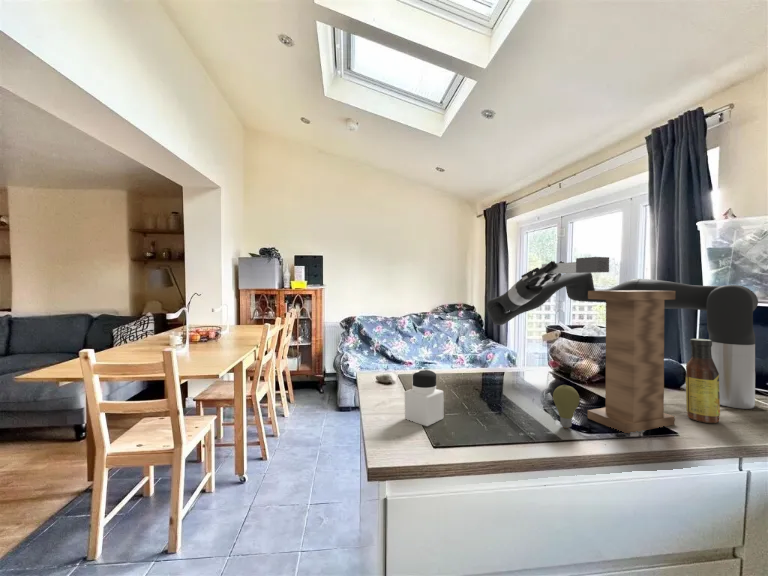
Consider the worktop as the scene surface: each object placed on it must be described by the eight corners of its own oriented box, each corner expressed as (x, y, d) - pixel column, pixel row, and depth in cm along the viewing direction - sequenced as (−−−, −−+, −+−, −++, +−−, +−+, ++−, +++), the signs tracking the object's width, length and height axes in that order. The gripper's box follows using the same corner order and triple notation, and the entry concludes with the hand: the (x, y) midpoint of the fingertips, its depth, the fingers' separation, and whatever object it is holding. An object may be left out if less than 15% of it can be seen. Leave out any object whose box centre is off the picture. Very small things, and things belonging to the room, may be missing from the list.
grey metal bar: (551, 273, 115) (551, 261, 115) (608, 272, 96) (609, 257, 96) (539, 273, 113) (539, 260, 113) (595, 272, 94) (595, 256, 94)
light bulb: (569, 434, 80) (569, 390, 80) (547, 426, 85) (547, 384, 85) (584, 429, 83) (584, 386, 82) (563, 421, 88) (563, 381, 87)
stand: (633, 410, 95) (634, 290, 95) (674, 424, 85) (675, 290, 85) (587, 418, 90) (587, 290, 89) (625, 433, 80) (626, 291, 80)
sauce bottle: (726, 425, 85) (727, 342, 85) (696, 423, 86) (696, 341, 86) (707, 415, 91) (708, 338, 91) (679, 413, 92) (680, 337, 92)
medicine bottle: (444, 418, 90) (444, 371, 90) (427, 427, 85) (427, 376, 84) (421, 411, 95) (421, 366, 94) (404, 419, 89) (403, 371, 89)
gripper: (544, 299, 124) (581, 274, 109) (511, 300, 119) (545, 273, 105) (537, 281, 127) (572, 253, 113) (504, 281, 122) (536, 252, 108)
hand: (558, 263), depth 109 cm, fingers closed on grey metal bar, 3 cm apart
